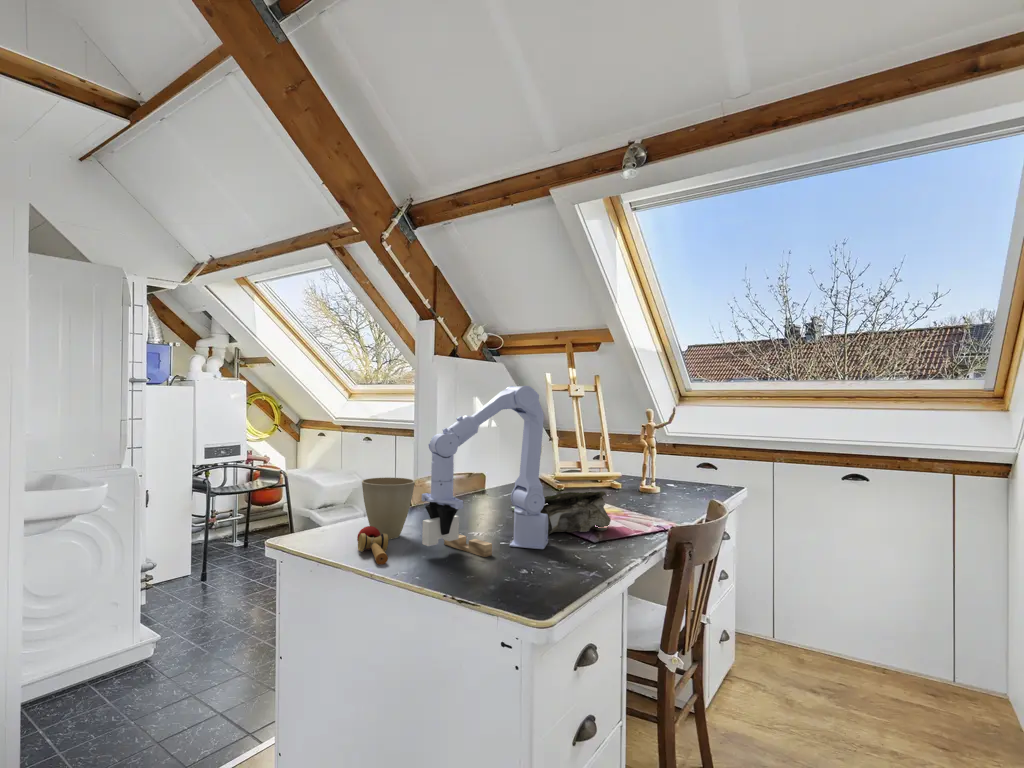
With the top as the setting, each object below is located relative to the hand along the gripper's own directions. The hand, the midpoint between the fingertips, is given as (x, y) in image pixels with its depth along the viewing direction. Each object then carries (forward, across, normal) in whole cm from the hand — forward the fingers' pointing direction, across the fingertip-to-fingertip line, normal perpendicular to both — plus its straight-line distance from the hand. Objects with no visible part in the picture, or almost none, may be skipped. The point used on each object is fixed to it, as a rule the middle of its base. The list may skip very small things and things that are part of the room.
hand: (441, 532), depth 143 cm
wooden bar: (+5, +2, +7) cm, 9 cm away
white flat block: (+2, 0, 0) cm, 2 cm away
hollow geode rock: (+6, +7, +45) cm, 46 cm away
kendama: (+6, -11, -13) cm, 18 cm away
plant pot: (+5, -24, 0) cm, 24 cm away
